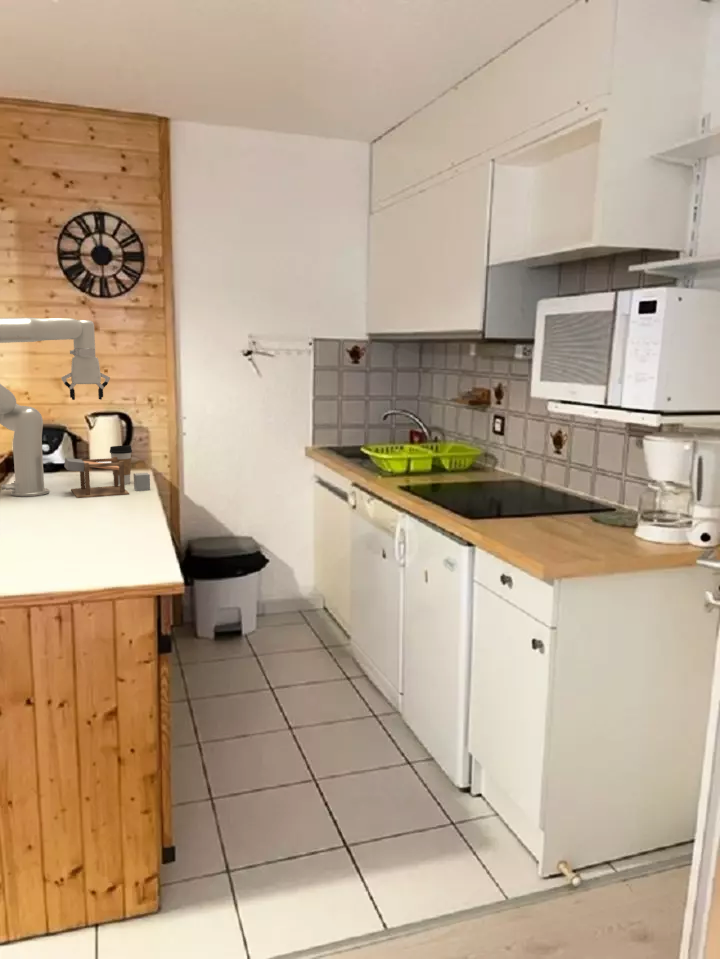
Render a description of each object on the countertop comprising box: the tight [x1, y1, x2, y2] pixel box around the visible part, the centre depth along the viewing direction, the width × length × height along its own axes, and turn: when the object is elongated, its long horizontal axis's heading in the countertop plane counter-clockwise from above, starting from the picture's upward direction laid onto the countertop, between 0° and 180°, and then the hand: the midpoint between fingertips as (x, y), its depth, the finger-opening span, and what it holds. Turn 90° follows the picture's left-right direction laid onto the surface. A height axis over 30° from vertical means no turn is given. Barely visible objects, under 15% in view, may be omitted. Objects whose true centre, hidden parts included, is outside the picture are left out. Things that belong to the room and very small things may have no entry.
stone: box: [133, 472, 151, 492], centre depth 282 cm, size 5×5×6 cm
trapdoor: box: [63, 457, 119, 473], centre depth 273 cm, size 18×10×3 cm, turn 117°
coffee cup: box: [109, 444, 133, 486], centre depth 294 cm, size 8×8×15 cm
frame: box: [70, 457, 130, 499], centre depth 274 cm, size 18×17×12 cm
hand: (86, 399), depth 283 cm, fingers open, 9 cm apart
